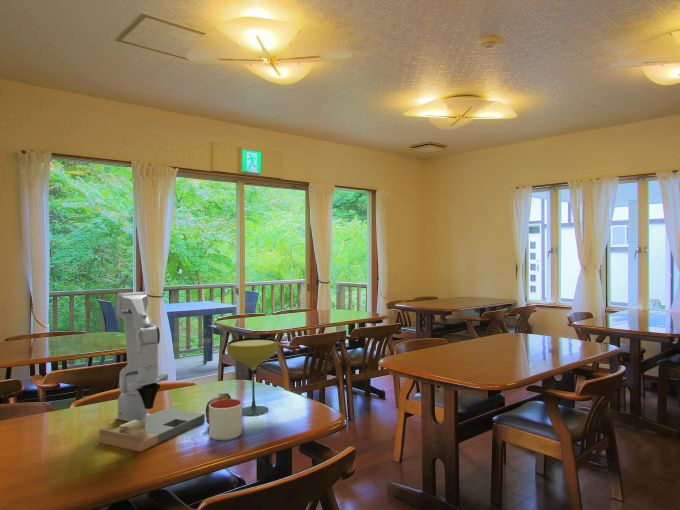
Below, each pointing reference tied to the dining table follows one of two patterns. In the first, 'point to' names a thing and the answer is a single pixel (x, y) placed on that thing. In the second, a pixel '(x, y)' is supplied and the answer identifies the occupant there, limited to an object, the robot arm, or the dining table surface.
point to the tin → (219, 397)
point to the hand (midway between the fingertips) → (148, 408)
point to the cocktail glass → (252, 361)
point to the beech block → (133, 427)
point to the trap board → (153, 429)
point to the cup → (225, 419)
